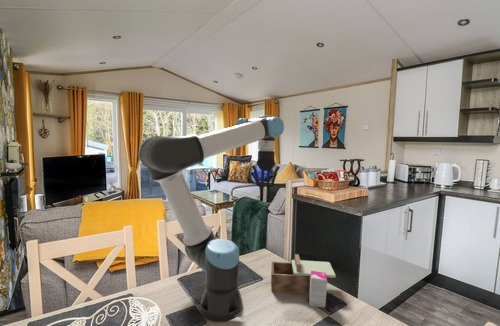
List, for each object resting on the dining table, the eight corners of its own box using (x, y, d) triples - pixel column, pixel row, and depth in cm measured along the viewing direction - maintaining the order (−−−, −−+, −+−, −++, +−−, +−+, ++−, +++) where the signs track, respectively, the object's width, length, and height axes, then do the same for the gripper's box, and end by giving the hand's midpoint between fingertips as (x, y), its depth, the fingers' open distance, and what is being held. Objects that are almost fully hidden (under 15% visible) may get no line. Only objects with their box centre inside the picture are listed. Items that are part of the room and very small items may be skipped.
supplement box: (325, 310, 94) (327, 280, 92) (308, 307, 95) (310, 277, 94) (324, 300, 99) (326, 272, 98) (308, 298, 100) (310, 270, 99)
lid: (293, 275, 101) (294, 265, 101) (291, 262, 112) (291, 253, 112) (335, 277, 100) (336, 267, 100) (329, 264, 111) (329, 255, 111)
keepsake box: (271, 293, 103) (271, 274, 102) (271, 279, 114) (271, 261, 113) (312, 296, 101) (313, 277, 101) (308, 281, 112) (308, 263, 112)
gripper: (251, 150, 114) (250, 202, 116) (281, 151, 113) (279, 204, 115) (252, 149, 121) (251, 199, 124) (280, 150, 121) (278, 200, 123)
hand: (264, 201), depth 119 cm, fingers closed
